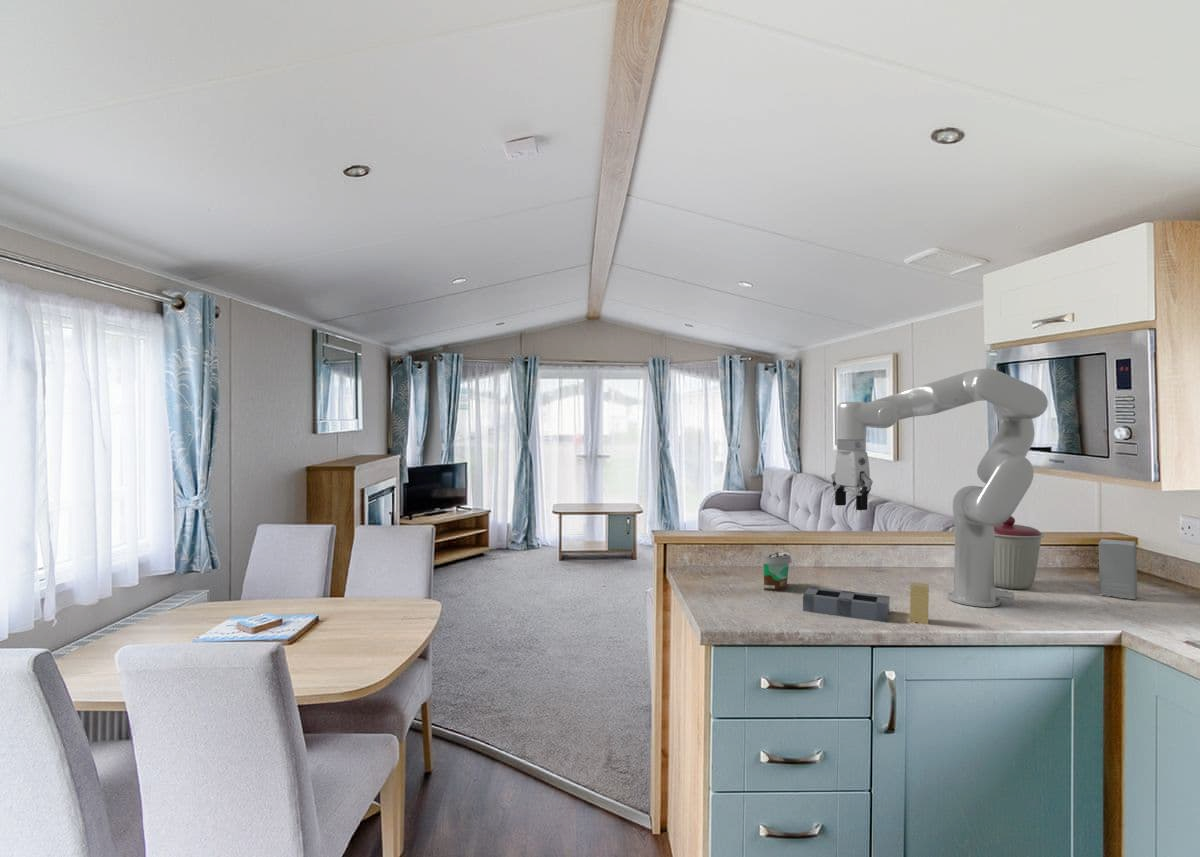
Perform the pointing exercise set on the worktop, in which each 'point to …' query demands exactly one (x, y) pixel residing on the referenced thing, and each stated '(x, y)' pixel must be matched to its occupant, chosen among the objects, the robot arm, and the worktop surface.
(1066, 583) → the worktop surface
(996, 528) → the canister
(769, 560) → the food container
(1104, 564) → the skincare box
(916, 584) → the brass peg
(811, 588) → the grey peg board
